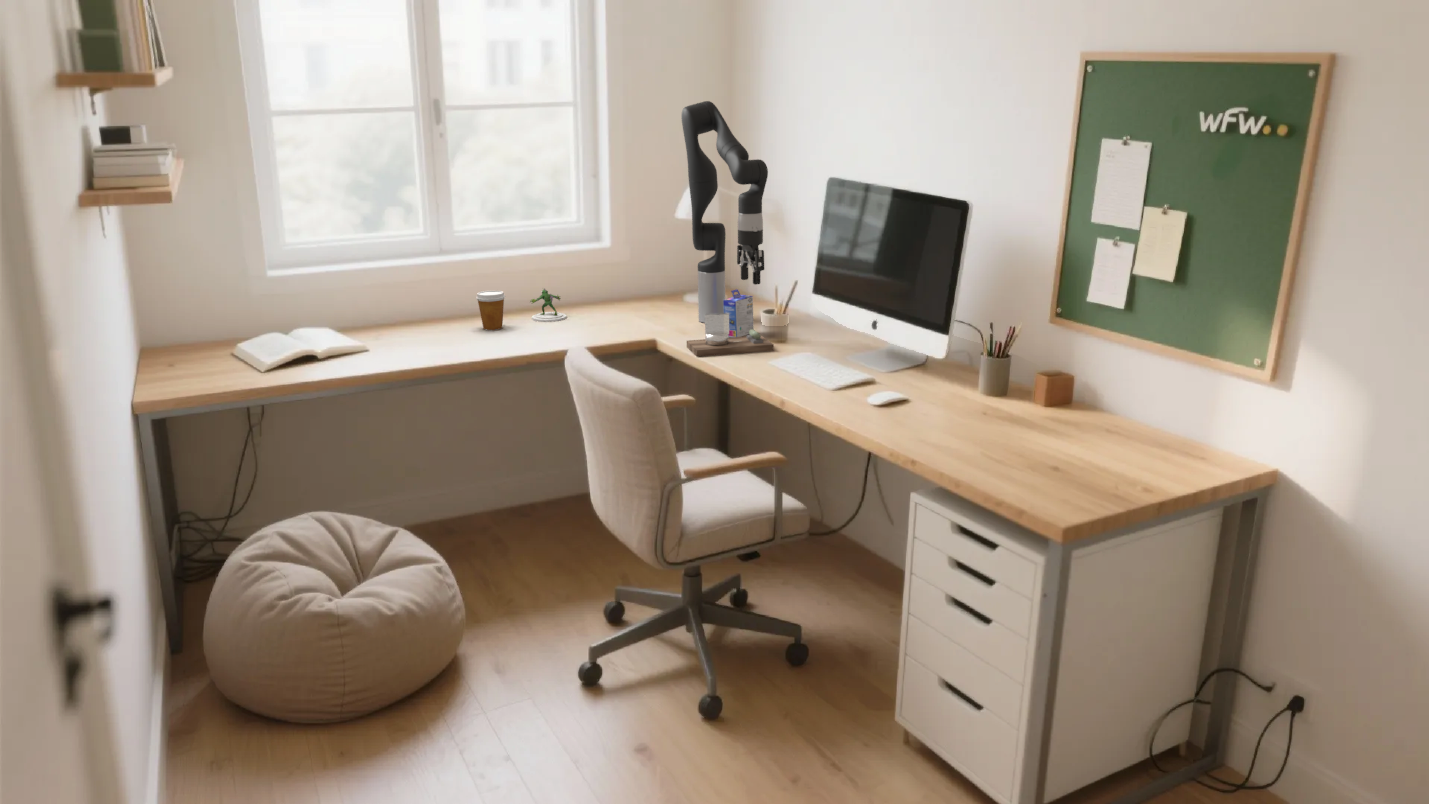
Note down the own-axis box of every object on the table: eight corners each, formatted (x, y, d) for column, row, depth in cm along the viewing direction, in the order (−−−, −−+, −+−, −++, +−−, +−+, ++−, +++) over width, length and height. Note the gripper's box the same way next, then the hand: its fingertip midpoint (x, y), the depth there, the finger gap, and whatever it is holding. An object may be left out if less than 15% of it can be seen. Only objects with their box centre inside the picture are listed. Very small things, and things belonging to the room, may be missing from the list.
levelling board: (686, 346, 343) (686, 331, 342) (761, 341, 349) (761, 325, 348) (696, 356, 331) (696, 340, 330) (773, 350, 337) (773, 334, 336)
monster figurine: (558, 313, 395) (556, 285, 392) (572, 319, 385) (570, 290, 382) (526, 317, 389) (524, 288, 386) (539, 323, 379) (537, 294, 377)
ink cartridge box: (740, 330, 364) (740, 287, 360) (754, 332, 361) (754, 288, 357) (723, 336, 357) (722, 292, 352) (737, 338, 353) (736, 293, 349)
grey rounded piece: (706, 346, 335) (705, 316, 333) (705, 340, 342) (704, 312, 339) (729, 345, 335) (729, 316, 333) (728, 340, 342) (728, 311, 340)
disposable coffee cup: (513, 326, 375) (510, 291, 371) (493, 332, 367) (490, 296, 364) (492, 323, 380) (489, 289, 376) (472, 329, 372) (469, 293, 368)
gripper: (729, 226, 336) (729, 279, 341) (749, 231, 324) (749, 286, 328) (751, 224, 339) (751, 277, 344) (772, 230, 327) (772, 284, 331)
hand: (750, 281), depth 336 cm, fingers open, 8 cm apart
